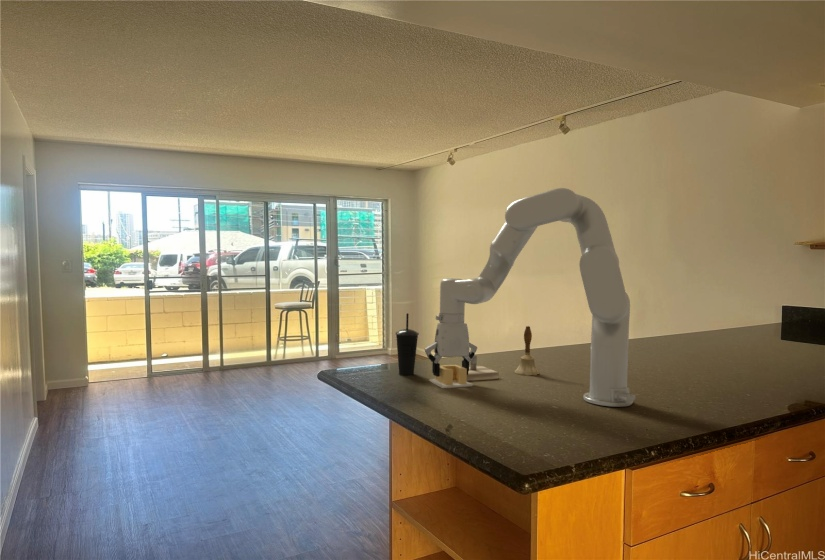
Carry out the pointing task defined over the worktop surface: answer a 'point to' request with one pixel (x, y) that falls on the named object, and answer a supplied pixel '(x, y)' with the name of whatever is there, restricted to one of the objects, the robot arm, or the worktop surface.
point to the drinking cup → (406, 349)
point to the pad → (451, 384)
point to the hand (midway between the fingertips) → (450, 374)
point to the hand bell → (527, 357)
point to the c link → (452, 374)
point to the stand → (480, 371)
